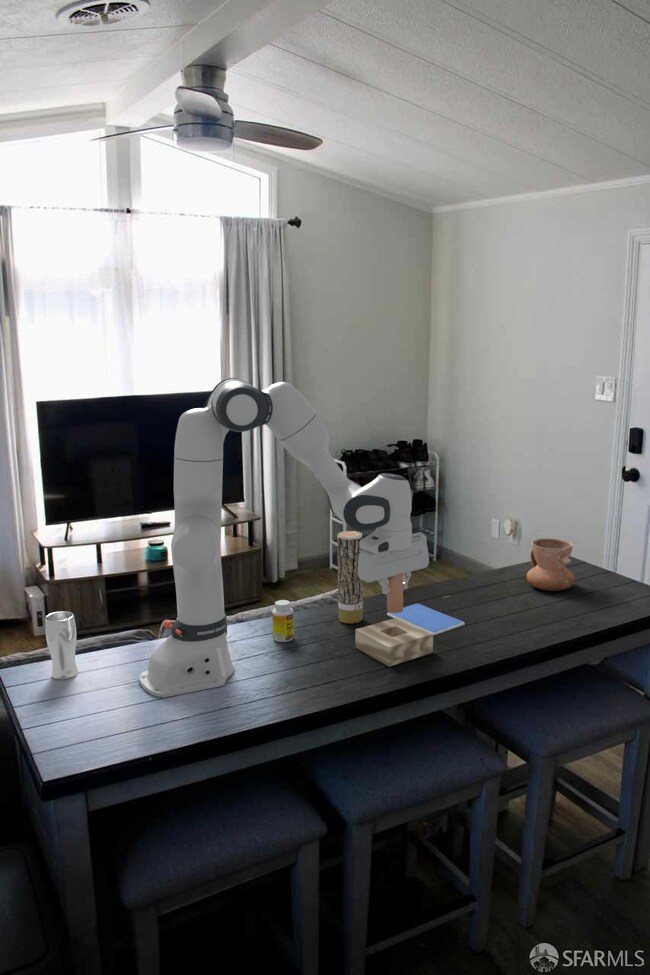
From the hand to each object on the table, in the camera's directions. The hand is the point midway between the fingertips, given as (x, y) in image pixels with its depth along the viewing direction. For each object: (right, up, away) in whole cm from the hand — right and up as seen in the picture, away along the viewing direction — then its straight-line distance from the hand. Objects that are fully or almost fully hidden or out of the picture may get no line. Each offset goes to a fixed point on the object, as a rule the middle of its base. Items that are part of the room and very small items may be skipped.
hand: (394, 591), depth 200 cm
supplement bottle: (-29, -14, +12) cm, 34 cm away
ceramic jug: (+52, -5, +48) cm, 71 cm away
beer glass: (-81, -20, -7) cm, 83 cm away
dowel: (0, -5, +1) cm, 5 cm away
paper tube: (-10, -11, +24) cm, 28 cm away
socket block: (0, -16, +3) cm, 16 cm away
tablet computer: (+11, -12, +23) cm, 28 cm away
